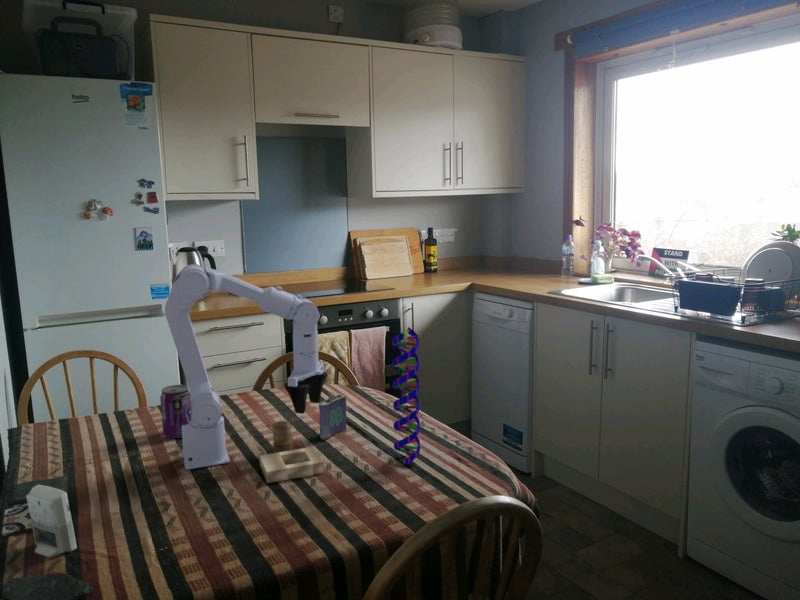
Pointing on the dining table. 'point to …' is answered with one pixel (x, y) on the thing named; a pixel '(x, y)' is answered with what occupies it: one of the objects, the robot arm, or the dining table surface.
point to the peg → (281, 436)
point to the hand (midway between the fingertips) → (307, 407)
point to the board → (291, 464)
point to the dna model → (407, 394)
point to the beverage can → (175, 409)
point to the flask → (332, 416)
